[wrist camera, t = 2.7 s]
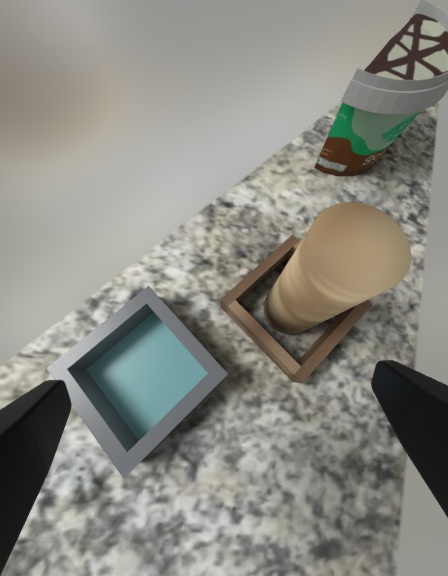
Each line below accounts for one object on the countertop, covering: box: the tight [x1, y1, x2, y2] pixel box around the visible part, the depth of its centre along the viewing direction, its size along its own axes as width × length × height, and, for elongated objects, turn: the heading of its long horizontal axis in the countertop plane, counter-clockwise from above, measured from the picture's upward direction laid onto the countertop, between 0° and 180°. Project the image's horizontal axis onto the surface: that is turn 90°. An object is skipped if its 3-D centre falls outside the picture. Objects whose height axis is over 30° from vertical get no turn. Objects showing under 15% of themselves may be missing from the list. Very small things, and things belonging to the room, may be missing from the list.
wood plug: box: [264, 202, 411, 335], centre depth 17 cm, size 4×4×12 cm
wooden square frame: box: [221, 235, 372, 383], centre depth 21 cm, size 9×9×2 cm
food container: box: [314, 0, 448, 176], centre depth 24 cm, size 12×6×10 cm, turn 142°
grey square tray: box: [47, 286, 228, 478], centre depth 19 cm, size 9×9×3 cm
